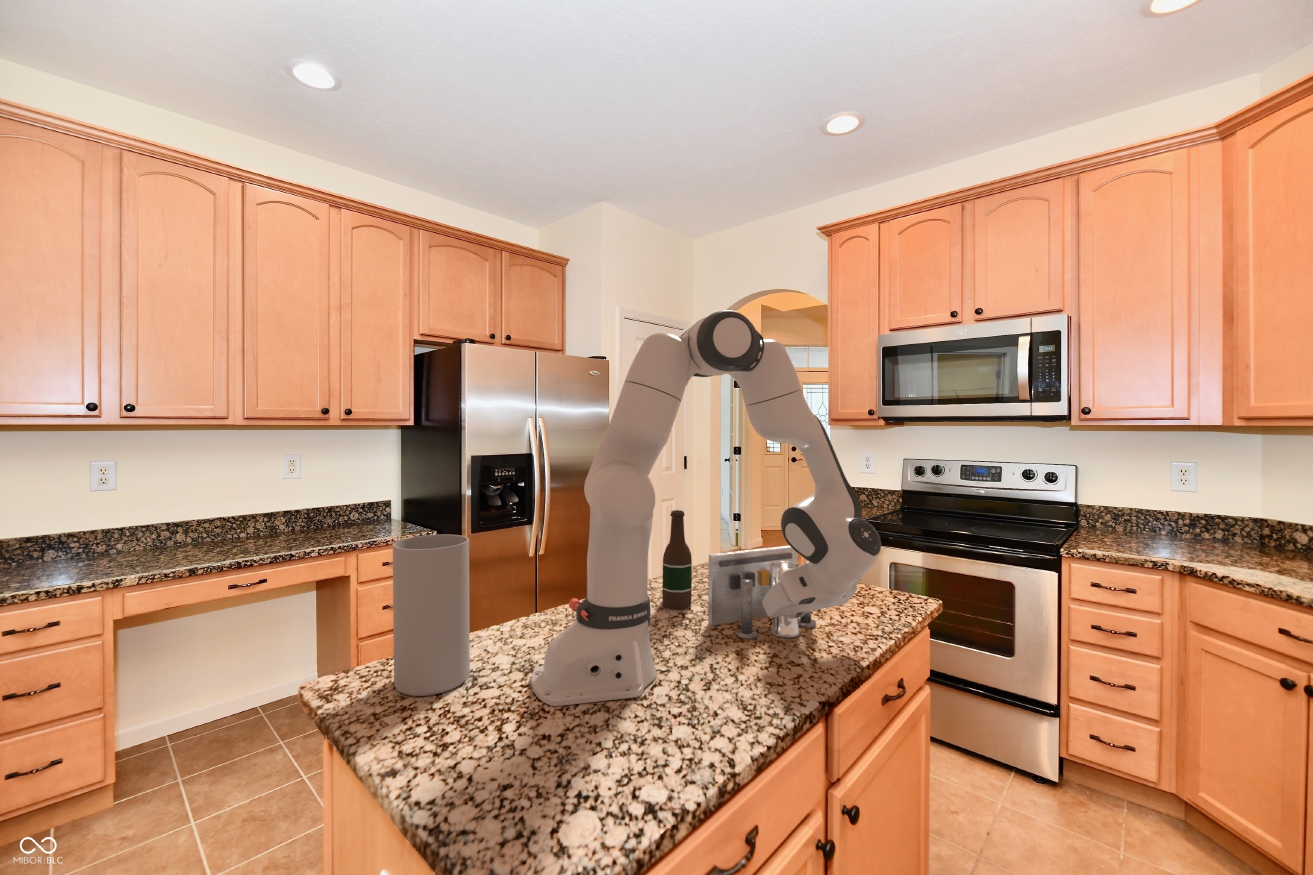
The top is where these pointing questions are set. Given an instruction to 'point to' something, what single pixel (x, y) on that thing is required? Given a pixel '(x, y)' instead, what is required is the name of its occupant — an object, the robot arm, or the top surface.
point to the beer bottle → (677, 567)
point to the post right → (806, 621)
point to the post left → (746, 611)
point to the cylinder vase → (431, 613)
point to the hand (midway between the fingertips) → (793, 614)
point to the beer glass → (783, 623)
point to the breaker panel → (729, 576)
